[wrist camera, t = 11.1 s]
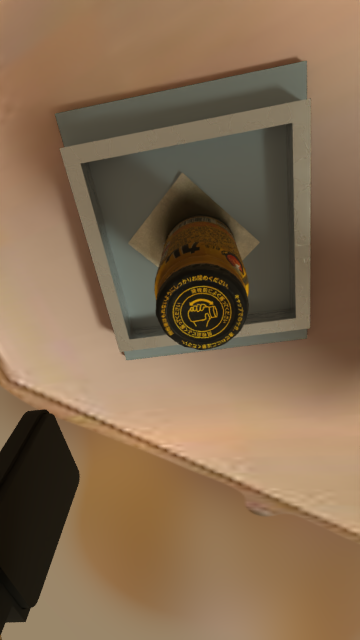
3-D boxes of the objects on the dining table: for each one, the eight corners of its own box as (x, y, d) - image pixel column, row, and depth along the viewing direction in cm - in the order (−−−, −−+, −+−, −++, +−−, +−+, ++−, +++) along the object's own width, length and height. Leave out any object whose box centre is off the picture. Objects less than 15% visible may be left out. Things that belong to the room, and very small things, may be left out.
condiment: (202, 301, 32) (206, 382, 21) (128, 242, 30) (90, 301, 19) (259, 241, 29) (296, 301, 18) (182, 171, 27) (174, 194, 16)
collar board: (305, 335, 34) (313, 349, 31) (127, 357, 36) (122, 372, 33) (304, 62, 24) (316, 54, 21) (57, 114, 26) (43, 111, 23)
